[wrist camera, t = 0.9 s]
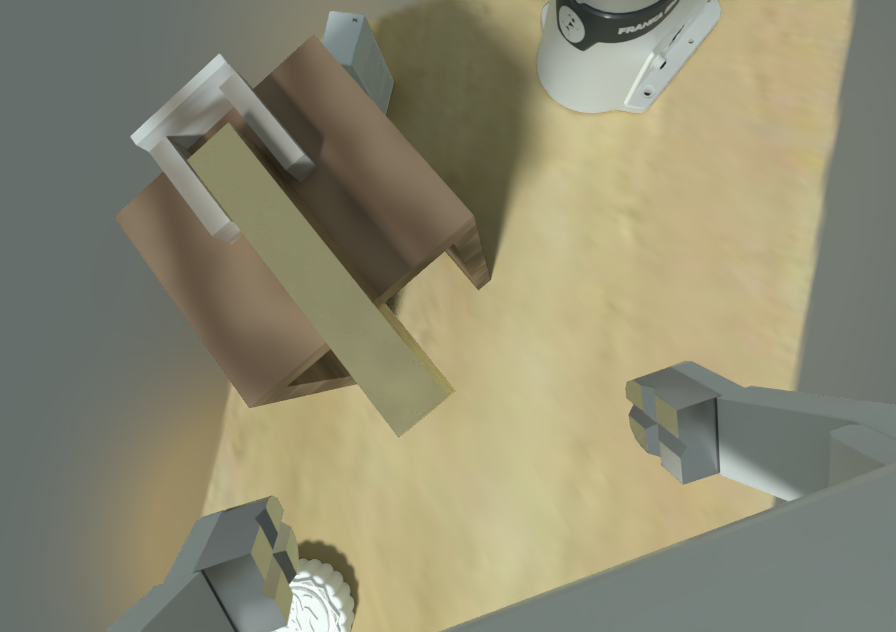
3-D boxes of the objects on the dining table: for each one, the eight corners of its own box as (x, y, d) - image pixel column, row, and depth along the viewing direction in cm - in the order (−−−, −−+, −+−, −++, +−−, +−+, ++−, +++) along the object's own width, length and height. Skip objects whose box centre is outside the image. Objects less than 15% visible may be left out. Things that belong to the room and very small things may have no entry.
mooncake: (361, 567, 53) (351, 582, 50) (348, 666, 53) (337, 689, 49) (273, 548, 55) (257, 562, 51) (259, 645, 54) (242, 665, 51)
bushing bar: (261, 148, 30) (228, 122, 27) (455, 390, 27) (447, 396, 24) (224, 182, 31) (186, 160, 27) (413, 426, 27) (398, 437, 24)
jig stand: (399, 173, 56) (285, -8, 28) (490, 279, 54) (469, 199, 25) (287, 271, 57) (67, 194, 29) (371, 380, 55) (219, 414, 26)
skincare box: (365, 77, 58) (329, 8, 46) (395, 81, 57) (365, 12, 46) (355, 119, 58) (315, 61, 46) (384, 124, 57) (352, 66, 45)
